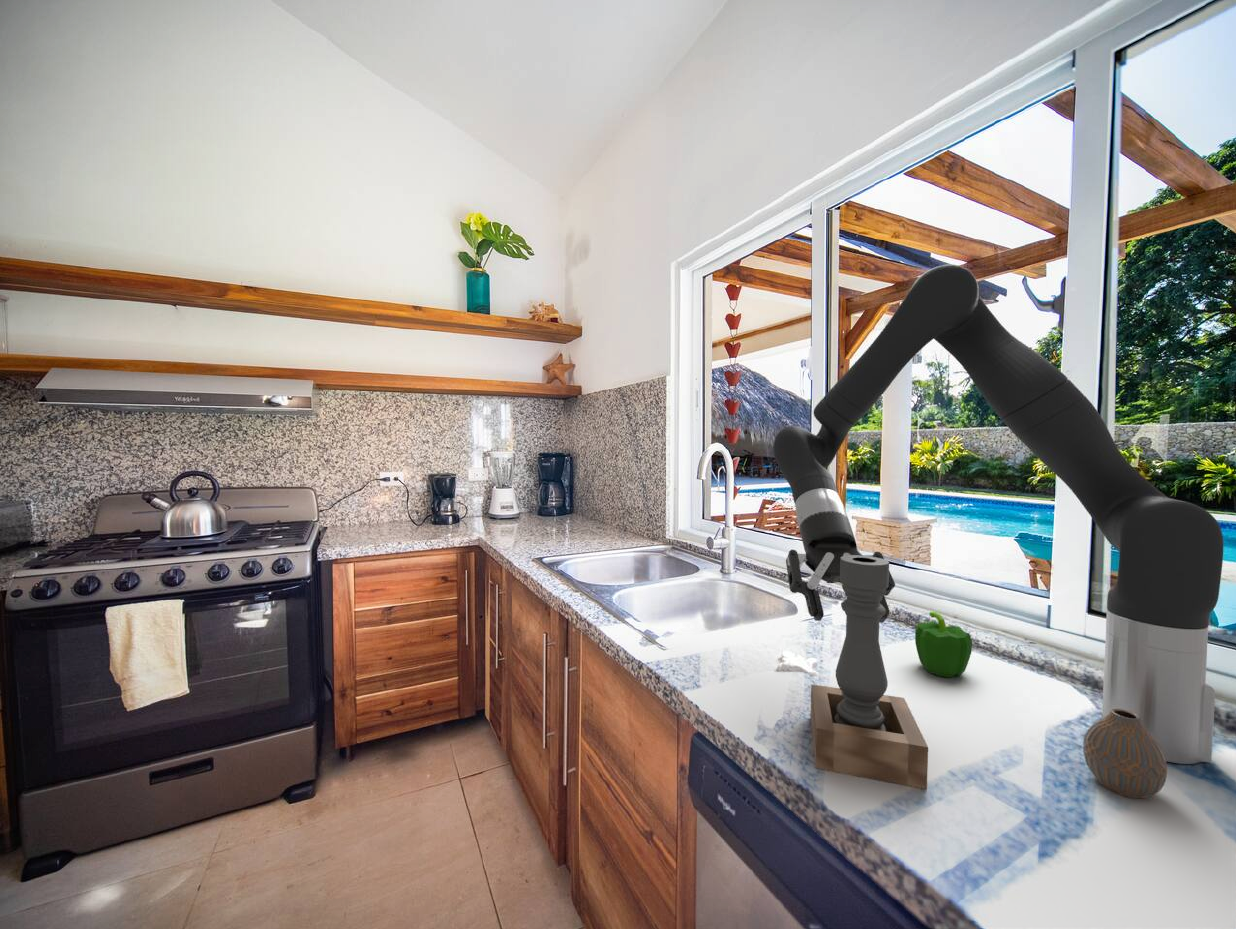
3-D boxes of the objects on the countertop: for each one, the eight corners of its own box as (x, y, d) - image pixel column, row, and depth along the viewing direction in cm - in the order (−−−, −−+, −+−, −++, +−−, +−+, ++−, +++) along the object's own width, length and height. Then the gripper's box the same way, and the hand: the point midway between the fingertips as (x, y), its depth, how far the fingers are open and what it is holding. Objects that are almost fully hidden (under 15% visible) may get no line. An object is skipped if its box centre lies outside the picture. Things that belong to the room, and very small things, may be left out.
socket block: (903, 733, 69) (904, 697, 69) (926, 789, 58) (928, 747, 58) (810, 717, 73) (811, 684, 73) (815, 767, 62) (816, 728, 62)
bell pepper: (979, 684, 84) (981, 626, 83) (925, 679, 86) (927, 622, 85) (956, 663, 92) (958, 609, 92) (907, 659, 94) (909, 606, 93)
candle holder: (830, 753, 65) (835, 561, 64) (835, 729, 70) (840, 552, 69) (885, 769, 62) (891, 568, 61) (886, 743, 67) (891, 558, 66)
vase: (1079, 760, 64) (1082, 693, 63) (1158, 784, 59) (1162, 711, 59) (1084, 789, 58) (1087, 715, 58) (1171, 817, 54) (1175, 738, 54)
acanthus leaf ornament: (777, 674, 88) (777, 663, 88) (777, 658, 95) (777, 648, 95) (822, 680, 86) (822, 669, 86) (819, 664, 93) (819, 654, 93)
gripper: (783, 508, 78) (805, 605, 67) (877, 510, 77) (915, 608, 66) (773, 536, 83) (792, 629, 72) (861, 538, 83) (893, 632, 72)
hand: (851, 619), depth 69 cm, fingers open, 8 cm apart
